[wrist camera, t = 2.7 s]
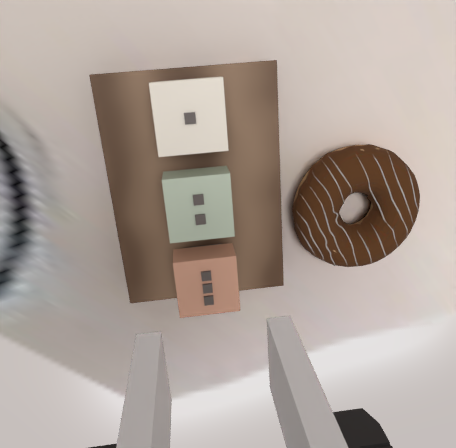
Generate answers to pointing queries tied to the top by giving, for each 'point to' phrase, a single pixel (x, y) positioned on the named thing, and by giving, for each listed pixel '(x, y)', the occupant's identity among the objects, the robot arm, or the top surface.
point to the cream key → (189, 116)
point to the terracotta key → (206, 280)
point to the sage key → (198, 204)
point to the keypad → (155, 166)
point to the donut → (340, 189)
